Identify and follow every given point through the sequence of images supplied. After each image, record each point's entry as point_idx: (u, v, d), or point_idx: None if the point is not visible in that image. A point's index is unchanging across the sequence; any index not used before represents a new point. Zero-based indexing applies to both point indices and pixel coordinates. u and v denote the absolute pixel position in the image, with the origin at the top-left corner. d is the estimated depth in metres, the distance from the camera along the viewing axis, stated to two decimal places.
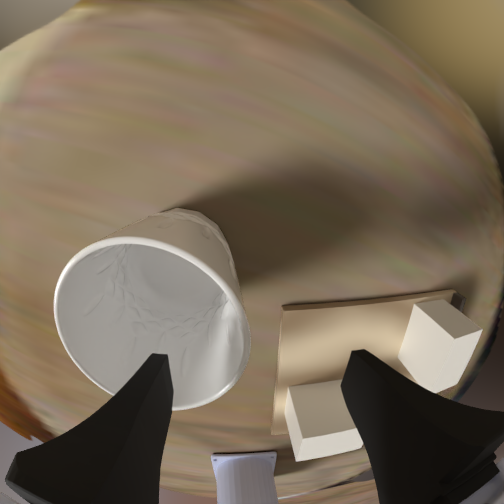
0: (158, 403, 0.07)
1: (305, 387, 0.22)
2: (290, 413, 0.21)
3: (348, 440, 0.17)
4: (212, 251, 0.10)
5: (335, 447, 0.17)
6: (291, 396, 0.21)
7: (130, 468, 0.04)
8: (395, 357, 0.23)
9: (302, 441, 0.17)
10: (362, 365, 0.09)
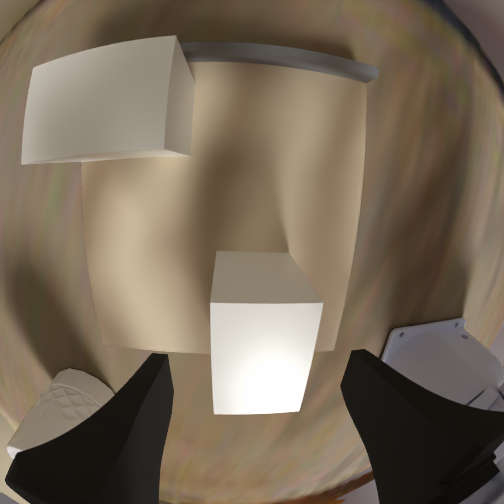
0: (158, 403, 0.07)
1: None
2: None
3: (258, 347, 0.10)
4: (16, 430, 0.10)
5: (277, 364, 0.10)
6: None
7: (129, 468, 0.04)
8: (190, 161, 0.13)
9: (224, 413, 0.11)
10: (362, 365, 0.09)
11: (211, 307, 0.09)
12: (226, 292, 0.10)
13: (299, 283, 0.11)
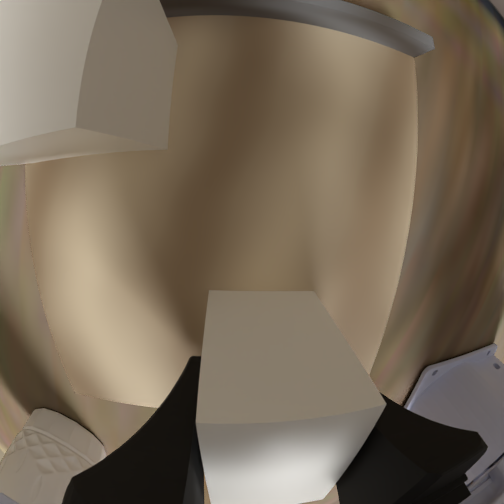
0: None
1: None
2: None
3: (277, 462, 0.05)
4: None
5: (302, 473, 0.05)
6: None
7: (192, 476, 0.04)
8: (167, 156, 0.08)
9: None
10: None
11: (198, 428, 0.04)
12: (224, 394, 0.05)
13: (342, 360, 0.06)
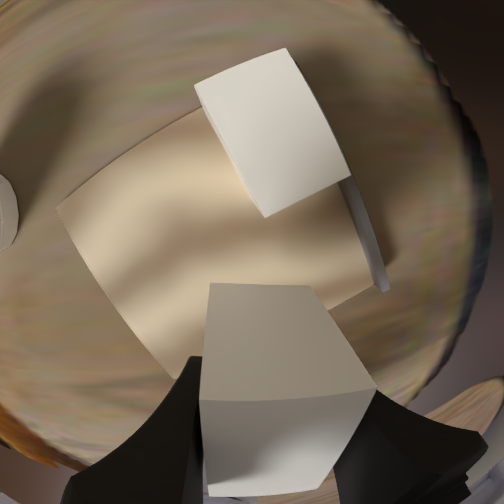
0: None
1: None
2: None
3: (274, 445, 0.06)
4: None
5: (297, 457, 0.06)
6: None
7: (191, 476, 0.04)
8: (247, 201, 0.16)
9: (221, 495, 0.07)
10: None
11: (201, 405, 0.05)
12: (225, 374, 0.06)
13: (335, 347, 0.07)
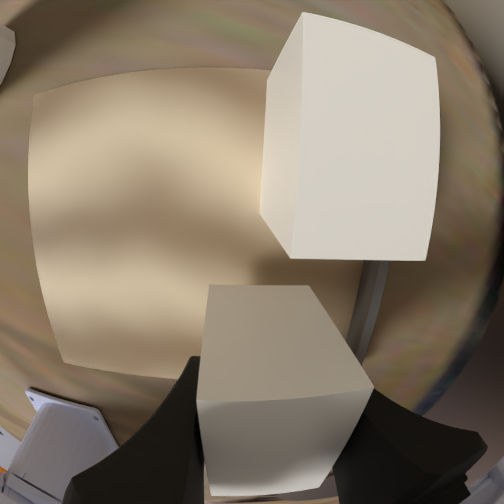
0: None
1: None
2: None
3: (272, 444, 0.06)
4: None
5: (297, 456, 0.06)
6: None
7: (192, 476, 0.04)
8: (253, 213, 0.12)
9: (224, 495, 0.07)
10: None
11: (199, 406, 0.05)
12: (223, 375, 0.06)
13: (333, 347, 0.07)
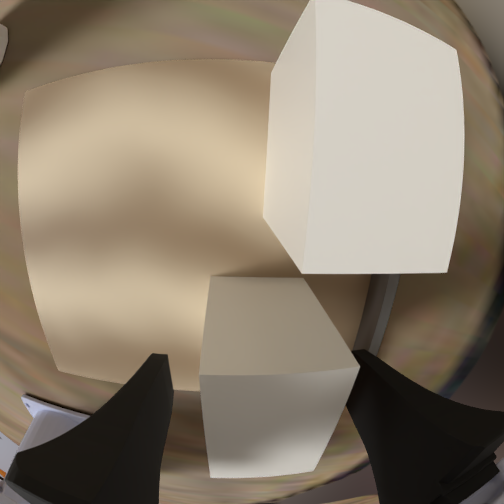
0: (158, 403, 0.07)
1: None
2: None
3: (267, 420, 0.07)
4: None
5: (291, 435, 0.07)
6: None
7: (130, 468, 0.04)
8: (256, 216, 0.11)
9: (222, 477, 0.08)
10: (362, 365, 0.09)
11: (201, 380, 0.06)
12: (223, 354, 0.07)
13: (323, 331, 0.08)
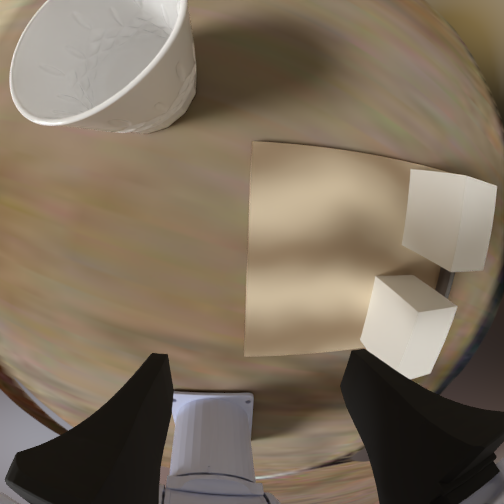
0: (158, 403, 0.07)
1: (365, 327, 0.21)
2: None
3: (428, 334, 0.15)
4: None
5: (432, 343, 0.15)
6: (366, 347, 0.20)
7: (130, 468, 0.04)
8: (399, 244, 0.19)
9: None
10: (362, 365, 0.09)
11: (418, 314, 0.14)
12: (417, 305, 0.15)
13: (439, 296, 0.16)
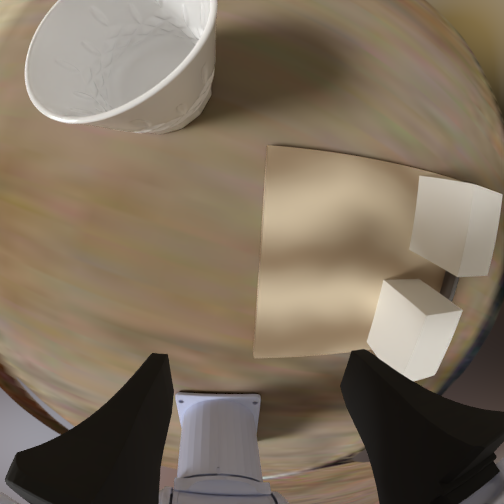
0: (158, 403, 0.07)
1: (372, 330, 0.21)
2: None
3: (434, 336, 0.15)
4: None
5: (437, 345, 0.15)
6: (372, 349, 0.21)
7: (130, 468, 0.04)
8: (406, 249, 0.19)
9: None
10: (362, 365, 0.09)
11: (426, 318, 0.14)
12: (425, 309, 0.15)
13: (444, 300, 0.16)
